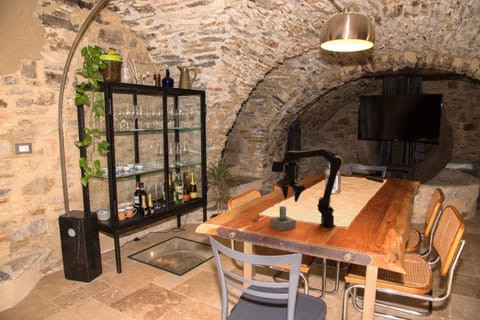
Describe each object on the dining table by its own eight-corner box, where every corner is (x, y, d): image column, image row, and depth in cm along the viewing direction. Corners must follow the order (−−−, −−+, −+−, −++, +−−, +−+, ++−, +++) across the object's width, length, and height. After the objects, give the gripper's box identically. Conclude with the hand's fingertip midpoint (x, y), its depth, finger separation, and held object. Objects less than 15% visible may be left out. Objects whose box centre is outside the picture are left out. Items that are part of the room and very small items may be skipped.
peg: (287, 225, 178) (287, 207, 176) (282, 226, 176) (282, 208, 174) (283, 223, 181) (283, 205, 179) (278, 224, 179) (278, 206, 178)
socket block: (295, 227, 176) (295, 220, 176) (280, 230, 172) (280, 223, 171) (284, 222, 185) (284, 215, 185) (270, 225, 181) (270, 218, 180)
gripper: (269, 172, 186) (269, 198, 188) (289, 177, 170) (290, 206, 172) (284, 170, 191) (284, 195, 193) (305, 175, 175) (305, 202, 177)
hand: (290, 200), depth 184 cm, fingers open, 9 cm apart
